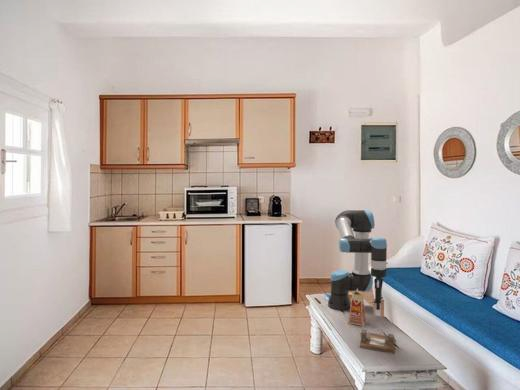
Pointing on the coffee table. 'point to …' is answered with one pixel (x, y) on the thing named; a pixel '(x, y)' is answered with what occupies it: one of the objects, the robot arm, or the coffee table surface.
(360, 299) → the milk carton
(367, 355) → the coffee table surface
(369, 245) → the robot arm
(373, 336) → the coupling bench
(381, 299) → the block
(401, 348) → the coffee table surface
